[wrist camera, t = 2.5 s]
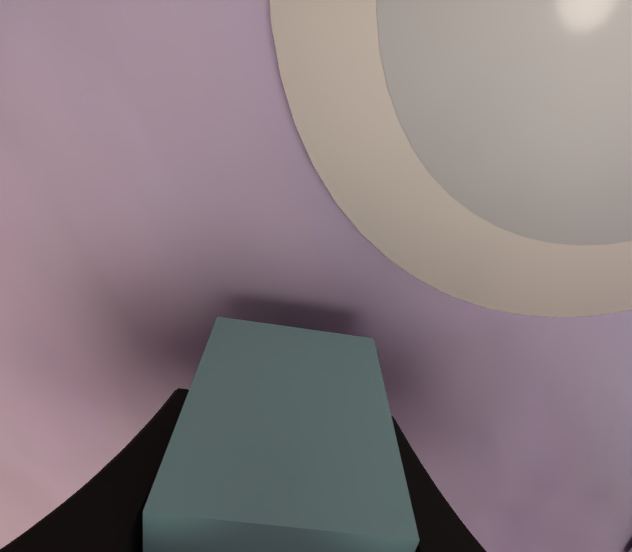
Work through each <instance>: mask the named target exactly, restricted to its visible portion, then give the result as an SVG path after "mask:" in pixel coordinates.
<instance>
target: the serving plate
mask: <svg viewBox="0 0 632 552" xmlns="http://www.w3.org/2000/svg"><path fill="white" fill-rule="evenodd" d="M270 14H271V26H272V31H273V37H274V43H275V48H276V54H277V60H278V65H279V71H280V76H281V80H282V83H283V87H284V90H285V93H286V96H287V100H288V103H289V106H290V110H291V113H292V116H293V120H294V123H295V126H296V128H297V130H298V132H299V135H300V137H301V139H302V141H303V144H304V146H305V148H306V150H307V153H308V155H309V157H310V159H311V162H312V164H313V166H314V168H315V169H316V171H317V173H318V174H319V176H320V178H321V179H322V181H323V182H324V184H325V186H326V187H327V189H328V191H329V192H330V194H331V196H332V197H333V199H334V200H335V202H336V203H337V205H338V206H339V207H340V208H341V210H342V211H343V212H344V213H345V214H346V216H347V217H348V218H349V219H350V221H351V222H352V223H353V224H354V225H355V227H356V228H357V229H358V230H359V232H360V233H361V234H362V235H363V236H364V237H365V238H367V239H368V240H369V241H370V242H371V243H372V244H373V245H374V246H375V247H376V248H377V249H378V250H379V251H381V252H382V253H383V254H384V255H385V256H386V257H387V258H388V259H389V260H391V261H392V262H394V263H395V264H397V265H398V266H399V267H401V268H402V269H404V270H405V271H407V272H408V273H409V274H411V275H412V276H414V277H415V278H417V279H418V280H420V281H422V282H424V283H426V284H428V285H430V286H432V287H434V288H436V289H438V290H440V291H442V292H444V293H446V294H448V295H450V296H452V297H455V298H458V299H461V300H464V301H467V302H469V303H472V304H475V305H478V306H481V307H485V308H489V309H494V310H499V311H503V312H508V313H513V314H519V315H530V316H542V317H584V316H596V315H603V314H610V313H617V312H624V311H630V310H632V0H270Z"/></svg>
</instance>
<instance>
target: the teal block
mask: <svg viewBox="0 0 632 552" xmlns="http://www.w3.org/2000/svg"><path fill="white" fill-rule="evenodd" d="M419 541H420V540H419V535H418V531H417V527H416V522H415V518H414V513H413V509H412V505H411V500H410V496H409V491H408V487H407V483H406V478H405V474H404V469H403V465H402V461H401V456H400V452H399V447H398V443H397V439H396V434H395V430H394V425H393V421H392V417H391V412H390V408H389V403H388V399H387V394H386V390H385V386H384V381H383V377H382V372H381V368H380V364H379V359H378V355H377V350H376V346H375V342H374V338H368V337H361V336H354V335H347V334H340V333H333V332H325V331H318V330H311V329H304V328H297V327H290V326H283V325H275V324H268V323H261V322H254V321H247V320H240V319H233V318H225V317H218V316H217V318H216V321H215V324H214V326H213V329H212V332H211V334H210V337H209V339H208V342H207V345H206V347H205V350H204V353H203V355H202V358H201V360H200V363H199V366H198V368H197V371H196V373H195V376H194V379H193V381H192V384H191V387H190V389H189V392H188V394H187V397H186V400H185V402H184V405H183V408H182V410H181V413H180V415H179V418H178V421H177V423H176V426H175V428H174V431H173V434H172V436H171V439H170V442H169V444H168V447H167V449H166V452H165V455H164V457H163V460H162V463H161V465H160V468H159V470H158V473H157V476H156V478H155V481H154V483H153V486H152V489H151V491H150V494H149V497H148V499H147V502H146V504H145V507H144V510H143V552H415V550H416V548H417V545H418V543H419Z"/></svg>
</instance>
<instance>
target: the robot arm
mask: <svg viewBox="0 0 632 552" xmlns="http://www.w3.org/2000/svg"><path fill="white" fill-rule="evenodd" d="M188 392H189V390H188V389H180V388H179V389H177V390H175V391H174V392H173V394H172V395H171V396H170V398H169V399H168V400H167V401H166V403H165V404H164V405H163V406H162V407H161V409H160V410H159V411H158V412H157V413H156V414H155V416H154V417H153V418H152V419H151V420H150V421H149V422H148V423H147V425H146V426H145V427H144V428H143V429H142V430H141V431H140V432H139V433H138V434H137V435H136V436H135V437H134V438H133V439H132V440H131V442H130V443H129V444H128V445H127V446H126V447H125V448H124V449H123V450H122V451H121V452H120V453H119V454H118V455H117V456H115V457H114V458H113V459H112V460H111V461H110V462H109V463H108V464H107V465H106V466H105V467H104V468H103V469H102V470H101V471H100V472H99V473H98V474H96V475H95V476H94V477H93V478H92V479H91V480H90V481H89V482H87V483H86V484H85V485H84V486H83V487H82V488H81V489H79V490H78V491H77V492H76V493H75V494H73V495H72V496H71V497H70V498H69V499H67V500H66V501H65V502H64V503H62V504H61V505H60V506H59V507H57V508H56V509H55V510H54V511H52V512H51V513H50V514H48V515H47V516H46V517H44V518H43V519H42V520H40V521H39V522H38V523H37V524H35V525H34V526H33V527H31V528H30V529H29V530H27V531H26V532H24V533H23V534H22V535H20V536H19V537H18V538H16V539H15V540H13V541H12V542H11V543H9V544H8V545H6V546H5V547H3V548H2V549H0V552H143V510H144V507H145V504H146V502H147V499H148V497H149V494H150V491H151V489H152V486H153V483H154V481H155V478H156V476H157V473H158V470H159V468H160V465H161V463H162V460H163V457H164V455H165V452H166V449H167V447H168V444H169V442H170V439H171V436H172V434H173V431H174V428H175V426H176V423H177V421H178V418H179V415H180V413H181V410H182V408H183V405H184V402H185V400H186V397H187V394H188ZM391 417H392V421H393V425H394V430H395V434H396V439H397V443H398V447H399V452H400V456H401V461H402V465H403V469H404V474H405V478H406V483H407V487H408V491H409V496H410V500H411V505H412V509H413V513H414V518H415V522H416V527H417V531H418V535H419V540H420V541H419V543H418V545H417V548H416V550H415V552H486V551H485V550H484V548H483V547H482V546H481V545H480V544H479V542H478V541H477V540H476V539H475V538H474V536H473V535H472V534H471V533H470V532H469V530H468V529H467V528H466V526H465V525H464V524H463V523H462V521H461V520H460V519H459V517H458V516H457V515H456V513H455V512H454V511H453V509H452V508H451V506H450V505H449V504H448V502H447V501H446V500H445V498H444V497H443V495H442V494H441V492H440V491H439V490H438V488H437V487H436V485H435V484H434V482H433V481H432V479H431V478H430V476H429V474H428V473H427V471H426V470H425V468H424V467H423V465H422V464H421V462H420V461H419V459H418V457H417V456H416V454H415V452H414V451H413V449H412V448H411V446H410V444H409V443H408V441H407V439H406V438H405V436H404V434H403V432H402V431H401V429H400V427H399V426H398V424H397V422H396V421H395V419H394V418H393V416H391ZM629 552H632V548H631V549H630V550H629Z"/></svg>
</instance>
